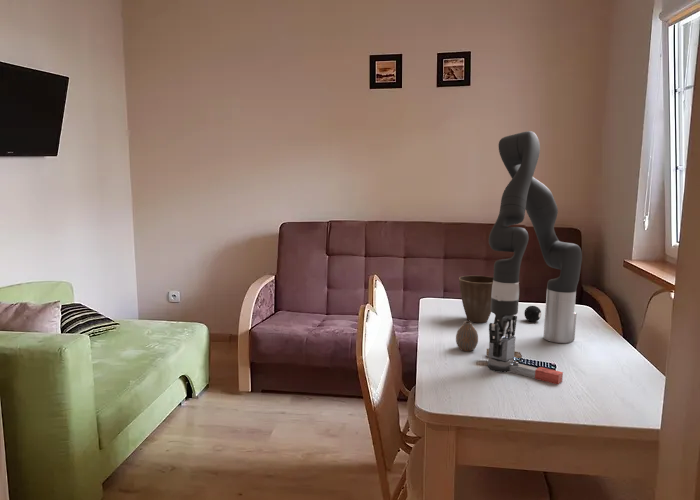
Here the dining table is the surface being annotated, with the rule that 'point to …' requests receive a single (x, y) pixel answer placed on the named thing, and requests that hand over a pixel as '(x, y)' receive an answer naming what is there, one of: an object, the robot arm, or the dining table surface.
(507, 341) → the domed steel cube
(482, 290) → the plant pot
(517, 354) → the mineral rock
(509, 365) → the ratchet
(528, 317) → the billiard ball
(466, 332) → the vase
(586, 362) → the dining table surface
